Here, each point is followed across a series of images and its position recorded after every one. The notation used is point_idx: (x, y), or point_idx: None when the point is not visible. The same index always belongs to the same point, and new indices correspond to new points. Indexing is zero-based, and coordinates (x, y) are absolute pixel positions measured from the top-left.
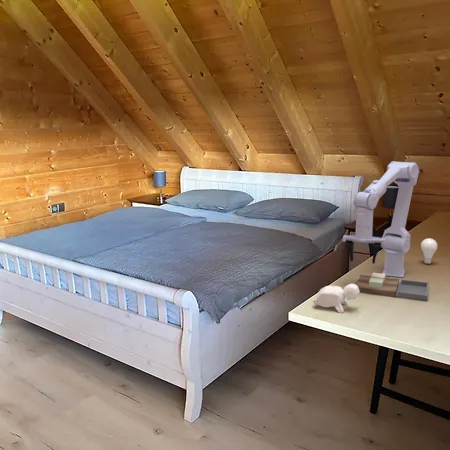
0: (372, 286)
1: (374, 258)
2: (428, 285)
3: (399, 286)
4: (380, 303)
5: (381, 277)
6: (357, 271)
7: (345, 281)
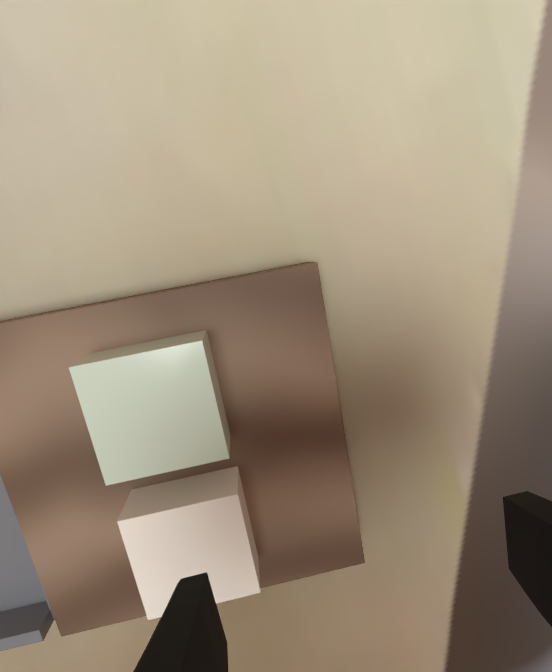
0: (173, 338)
1: (147, 658)
2: None
3: None
4: (25, 117)
5: (142, 515)
6: (419, 666)
7: (435, 445)
